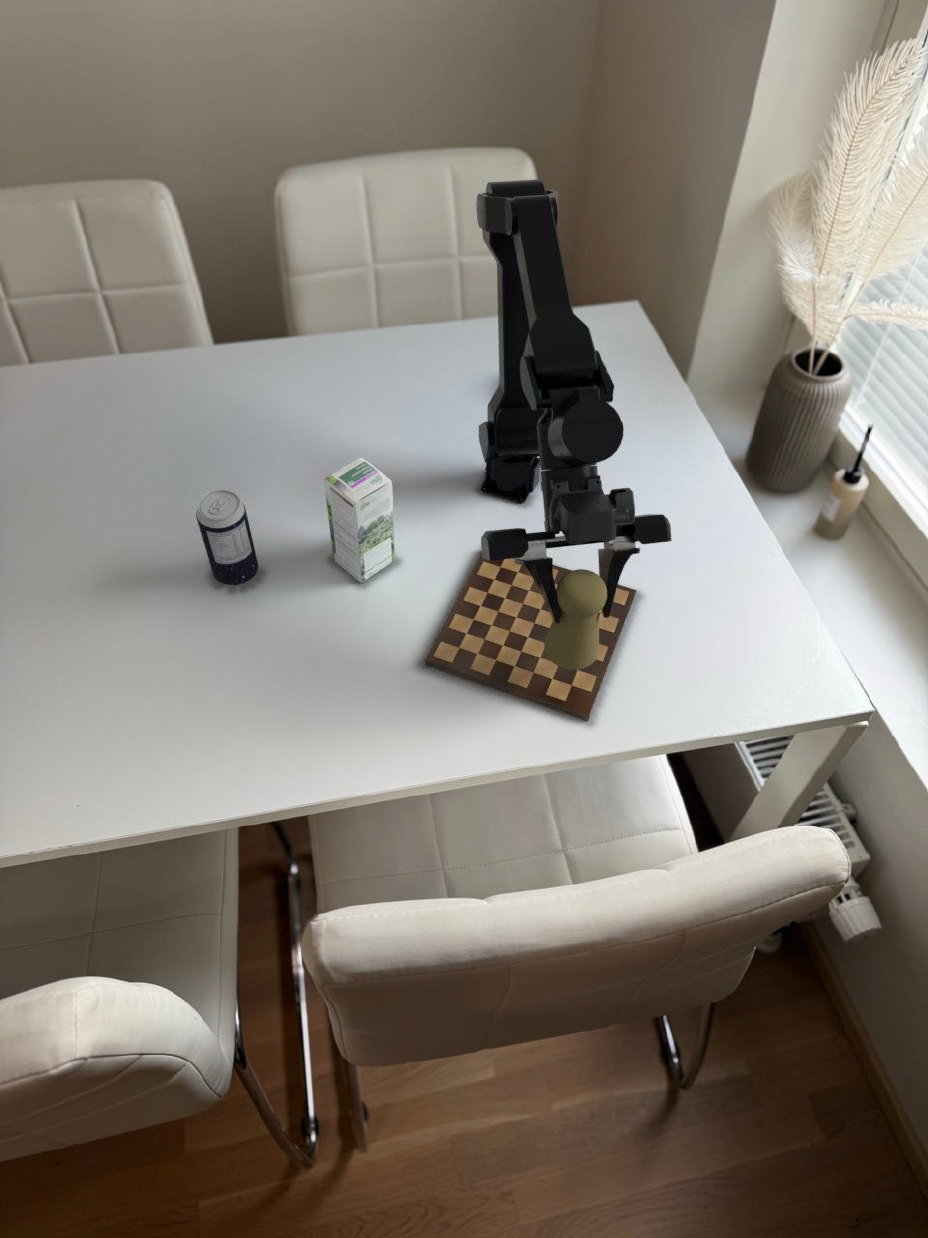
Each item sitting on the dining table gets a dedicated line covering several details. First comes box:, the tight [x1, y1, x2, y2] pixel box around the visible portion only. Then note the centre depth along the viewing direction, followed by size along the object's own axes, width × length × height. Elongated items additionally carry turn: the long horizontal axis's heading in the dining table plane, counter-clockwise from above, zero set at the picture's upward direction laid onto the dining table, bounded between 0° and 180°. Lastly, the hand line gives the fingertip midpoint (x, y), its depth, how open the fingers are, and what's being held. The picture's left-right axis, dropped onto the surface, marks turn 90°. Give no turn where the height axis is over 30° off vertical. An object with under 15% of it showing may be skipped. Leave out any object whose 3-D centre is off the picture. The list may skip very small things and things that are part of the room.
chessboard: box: [424, 553, 638, 722], centre depth 111 cm, size 20×20×1 cm
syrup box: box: [323, 456, 396, 584], centre depth 112 cm, size 6×6×14 cm
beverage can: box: [195, 489, 259, 587], centre depth 111 cm, size 6×6×12 cm
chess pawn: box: [544, 568, 607, 670], centre depth 97 cm, size 6×6×11 cm
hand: (581, 620), depth 95 cm, fingers closed on chess pawn, 5 cm apart
